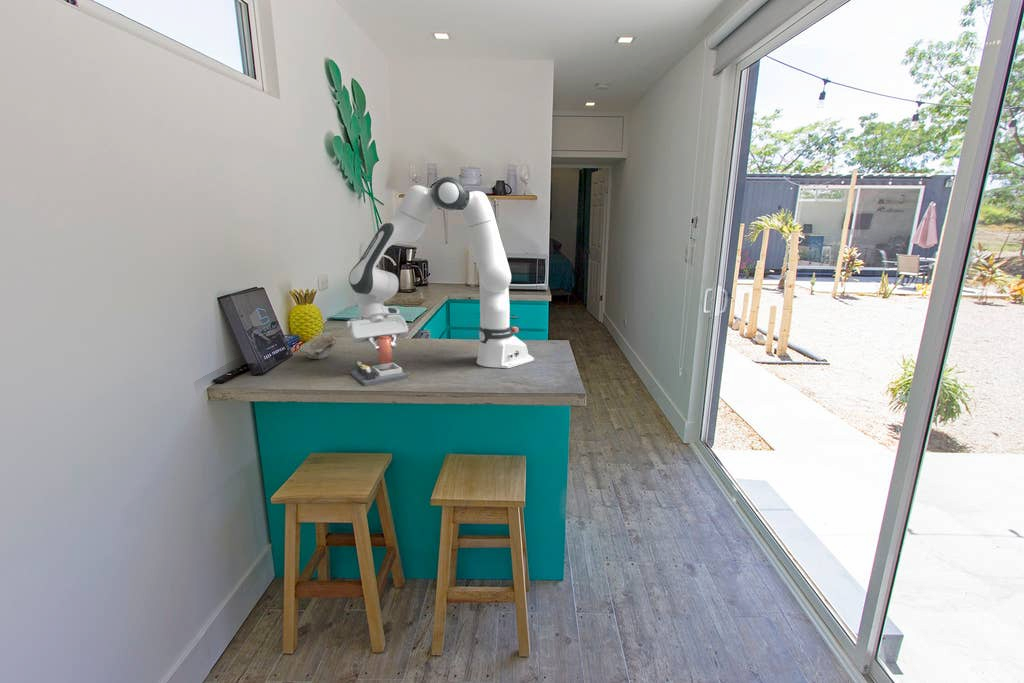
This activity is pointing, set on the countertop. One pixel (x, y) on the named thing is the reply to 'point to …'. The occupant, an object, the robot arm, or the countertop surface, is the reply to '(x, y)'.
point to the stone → (319, 345)
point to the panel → (377, 373)
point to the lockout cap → (385, 349)
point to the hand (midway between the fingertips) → (385, 348)
